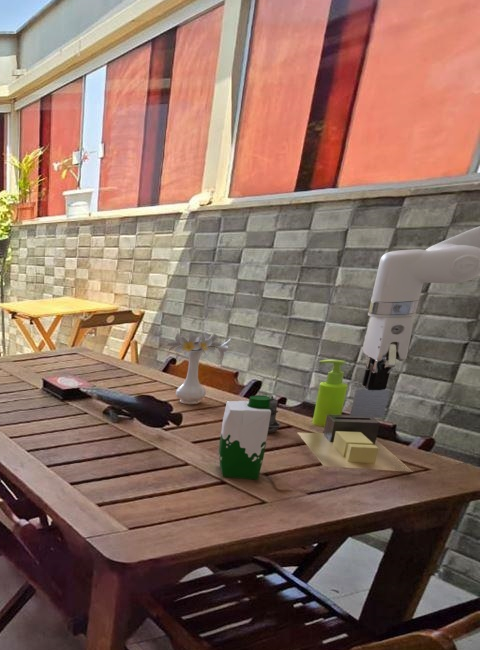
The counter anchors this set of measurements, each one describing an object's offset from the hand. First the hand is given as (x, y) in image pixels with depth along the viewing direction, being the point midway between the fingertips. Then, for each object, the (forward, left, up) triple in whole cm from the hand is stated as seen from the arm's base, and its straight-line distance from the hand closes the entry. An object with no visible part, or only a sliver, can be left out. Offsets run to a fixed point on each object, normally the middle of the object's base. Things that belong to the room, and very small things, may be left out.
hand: (373, 387), depth 116 cm
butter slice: (0, +2, -18) cm, 19 cm away
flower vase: (+31, -49, -20) cm, 62 cm away
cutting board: (0, -5, -20) cm, 20 cm away
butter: (0, -4, -18) cm, 19 cm away
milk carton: (+26, +12, -20) cm, 35 cm away
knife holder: (-2, -13, -18) cm, 23 cm away
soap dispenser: (0, -26, -20) cm, 33 cm away
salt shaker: (+15, -17, -20) cm, 30 cm away
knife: (0, 0, -8) cm, 8 cm away
